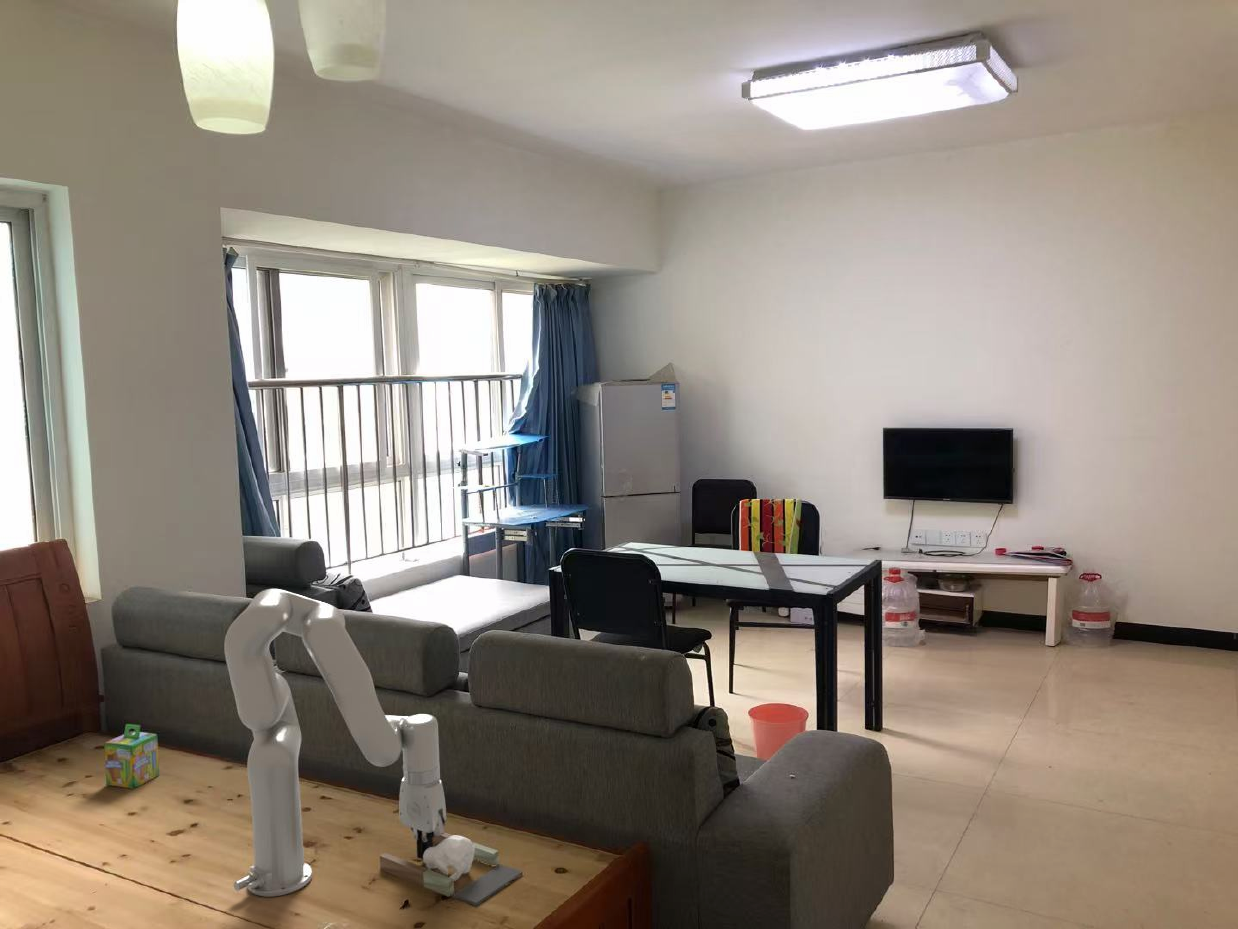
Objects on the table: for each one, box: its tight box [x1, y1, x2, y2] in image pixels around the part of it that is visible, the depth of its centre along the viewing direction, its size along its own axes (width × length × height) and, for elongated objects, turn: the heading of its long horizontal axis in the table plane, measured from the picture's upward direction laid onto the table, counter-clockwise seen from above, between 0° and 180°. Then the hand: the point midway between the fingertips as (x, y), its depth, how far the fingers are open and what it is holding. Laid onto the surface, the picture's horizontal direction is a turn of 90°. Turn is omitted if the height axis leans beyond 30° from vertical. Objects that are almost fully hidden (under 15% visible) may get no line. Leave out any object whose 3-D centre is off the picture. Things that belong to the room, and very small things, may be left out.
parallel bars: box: [379, 831, 500, 897], centre depth 202 cm, size 15×20×3 cm
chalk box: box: [104, 723, 160, 790], centre depth 249 cm, size 9×9×15 cm
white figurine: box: [422, 834, 475, 882], centre depth 199 cm, size 6×8×12 cm
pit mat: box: [453, 863, 523, 907], centre depth 194 cm, size 14×6×1 cm, turn 146°
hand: (425, 856), depth 204 cm, fingers closed
